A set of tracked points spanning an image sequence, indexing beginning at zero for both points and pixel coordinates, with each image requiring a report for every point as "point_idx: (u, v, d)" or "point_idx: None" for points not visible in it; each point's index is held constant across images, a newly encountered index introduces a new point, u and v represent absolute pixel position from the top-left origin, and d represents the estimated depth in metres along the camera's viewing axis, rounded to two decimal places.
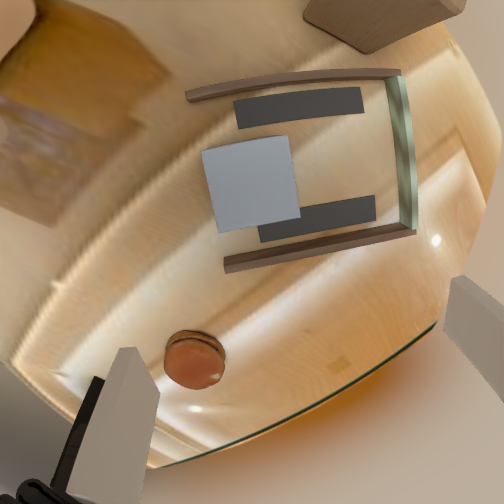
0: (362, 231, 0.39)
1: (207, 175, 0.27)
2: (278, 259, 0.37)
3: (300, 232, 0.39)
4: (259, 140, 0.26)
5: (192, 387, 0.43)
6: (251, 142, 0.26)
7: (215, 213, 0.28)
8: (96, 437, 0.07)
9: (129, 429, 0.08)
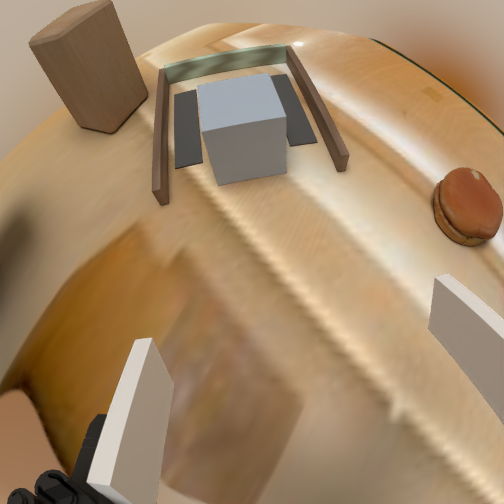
0: (296, 78, 0.41)
1: (226, 125, 0.27)
2: (326, 115, 0.34)
3: (303, 115, 0.38)
4: (199, 98, 0.29)
5: (499, 201, 0.26)
6: (200, 102, 0.28)
7: (265, 118, 0.26)
8: (116, 426, 0.07)
9: (147, 419, 0.09)
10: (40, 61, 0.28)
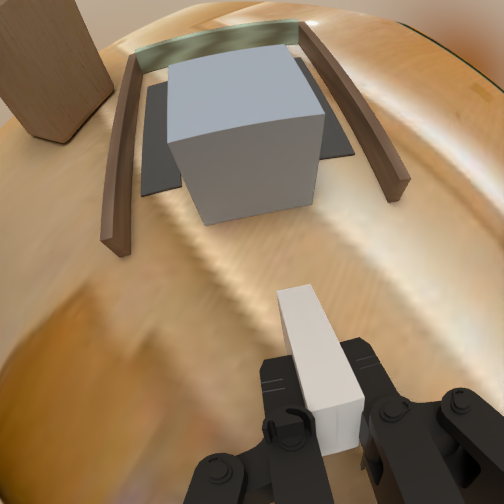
0: (315, 63, 0.28)
1: (213, 129, 0.14)
2: (369, 114, 0.22)
3: (330, 113, 0.26)
4: (169, 84, 0.16)
5: None
6: (170, 90, 0.16)
7: (286, 116, 0.14)
8: (310, 357, 0.09)
9: None
10: None
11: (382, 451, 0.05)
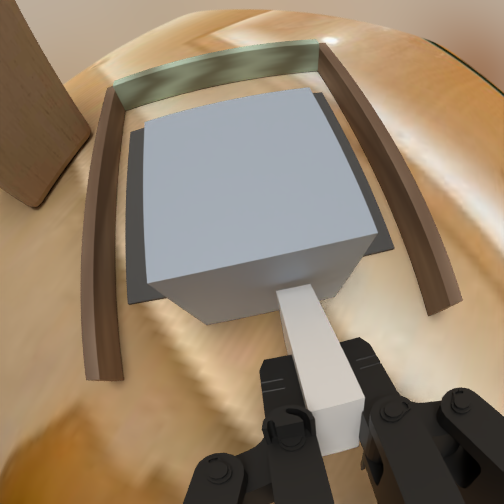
0: (341, 103, 0.24)
1: (213, 264, 0.10)
2: (418, 201, 0.17)
3: (364, 184, 0.21)
4: (145, 160, 0.12)
5: None
6: (146, 173, 0.12)
7: (323, 241, 0.10)
8: (310, 357, 0.09)
9: None
10: None
11: (382, 451, 0.05)
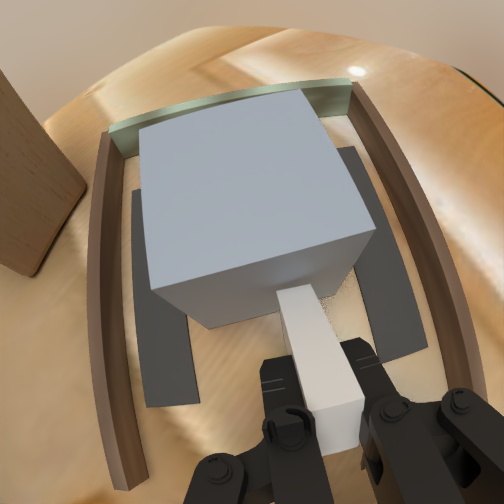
0: (377, 163, 0.21)
1: (216, 267, 0.10)
2: (461, 306, 0.14)
3: (402, 272, 0.18)
4: (142, 168, 0.12)
5: None
6: (144, 180, 0.12)
7: (323, 239, 0.10)
8: (310, 357, 0.09)
9: None
10: None
11: (382, 451, 0.05)
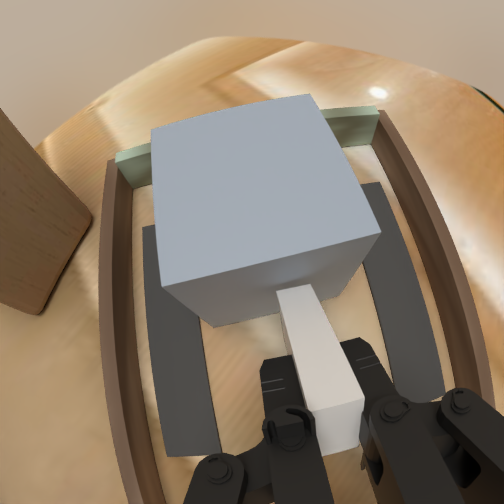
0: (404, 202, 0.20)
1: (225, 266, 0.10)
2: (481, 359, 0.13)
3: (425, 321, 0.17)
4: (154, 167, 0.12)
5: None
6: (155, 180, 0.12)
7: (330, 241, 0.10)
8: (310, 356, 0.09)
9: None
10: None
11: (382, 451, 0.05)
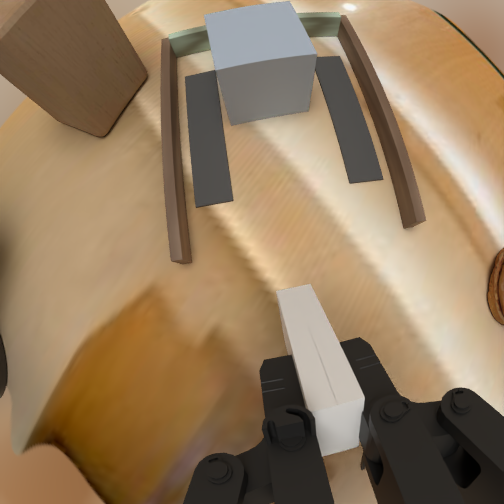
0: (354, 67, 0.28)
1: (245, 62, 0.20)
2: (401, 150, 0.24)
3: (366, 131, 0.27)
4: (208, 30, 0.21)
5: None
6: (209, 34, 0.21)
7: (292, 55, 0.20)
8: (310, 357, 0.09)
9: None
10: None
11: (382, 451, 0.05)
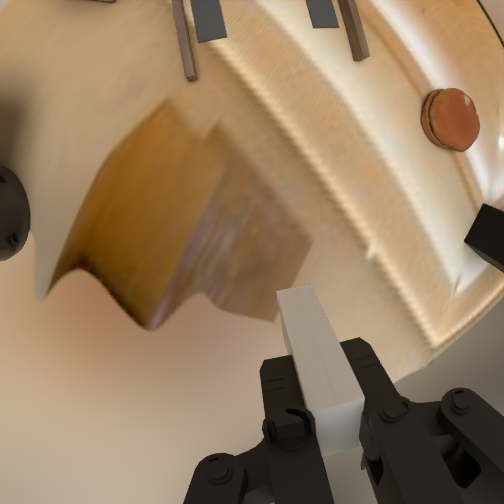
0: None
1: None
2: (354, 10, 0.27)
3: None
4: None
5: (477, 128, 0.31)
6: None
7: None
8: (310, 357, 0.09)
9: None
10: None
11: (382, 451, 0.05)
